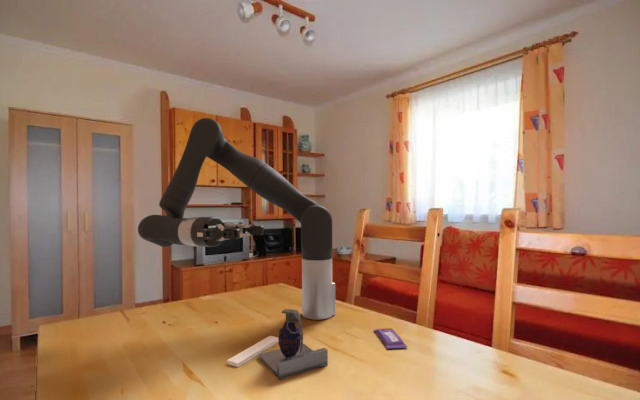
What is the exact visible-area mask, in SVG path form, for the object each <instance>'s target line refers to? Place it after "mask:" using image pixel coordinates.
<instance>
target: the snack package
mask: <svg viewBox="0 0 640 400" xmlns="http://www.w3.org/2000/svg"><path fill="white" fill-rule="evenodd" d="M373 331H374V333H375V334H376V335H377V336H378V337H379V339H380V340H381V342H382V343H383V344H384V346H385V348H386V349H401V348H403V349H404V348H408V346H407V345H406V344H405V342H404V341H403V339H402V338H401V337H400V336H399V335H398V333H396V331H395V330H394V329H393V328H391V327H390V328H387V327H386V328H376V329H373Z"/></svg>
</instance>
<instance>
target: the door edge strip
mask: <svg viewBox="0 0 640 400" xmlns="http://www.w3.org/2000/svg"><path fill="white" fill-rule="evenodd" d="M278 343H279V341H278V337H277V336H273V335H269V336H267V337H265V338H263V339H261V340H260V341H258V342H255V344H253V345H252V346H250V347H248V348H245V349H244V350H242V351H241V352H239V353H237V354H236V355H234V356H232V357H230V358H229V359H227V360H226V365H228V366H229V365H230V366H232V367H236V368H239V367H241V366H242V365H244V364H246V363H247V362H249V361H250V360H252V359H254V358H255V357H257V356H258V354H261V353H264V352H266V350H268V349H270V348H271V347H273V346H275V345H276V344H278Z"/></svg>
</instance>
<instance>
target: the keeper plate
mask: <svg viewBox="0 0 640 400" xmlns="http://www.w3.org/2000/svg"><path fill="white" fill-rule="evenodd" d="M300 346H301V343H300ZM257 356H258V359H259V360H260V361H261V362H262V364H263V365H264V366H265V367H267V368H268V369H269V370H270V371H271V373H272V374H273V375H274V376H275V377H276V378H277V379H278V380H279V381H281V380H283V379H287V378H290V377H293V376H296V375H300V374H303V373H307V372H309V371H313V370H314V371H315V370H316V369H320V368H322V367H327V366H328V363H329V362H328V357H329V356H328V349H327V348H325V347H323V348H318V349H314V350H313V349H311V348H310V347H308V346H307V345H306V344H305V343H303V345H302V351H301V353H300V347H299V350H298V352H297V354H296V355H295V356H292V357H289V358H286V357H285V356H284V355H283V353H282V352H281V350H280V348H276V349H273V350H268V351H264V352H262V353H260V354H258V355H257Z"/></svg>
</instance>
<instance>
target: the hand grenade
mask: <svg viewBox="0 0 640 400" xmlns="http://www.w3.org/2000/svg"><path fill="white" fill-rule="evenodd" d="M281 313H282V314H285V320H284V323H283V326H282V327H281V328H280V329H279V332H278V341H279V342H278V346H279V349H280V350H281V352H282V353H283V355H284V356H285V357H286V358H289V357H292V356H295V355H296V354H297V352H298V350H299V347H300V353H301V351H302V345H303V344H304V330H303V329H304V328H303V323H302V320H301V316H300V313H299V311H298V309H287V308H285V309H283V310H282V311H281ZM297 323H298V326H299V327H298V326H297ZM300 343H301V346H300Z"/></svg>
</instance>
